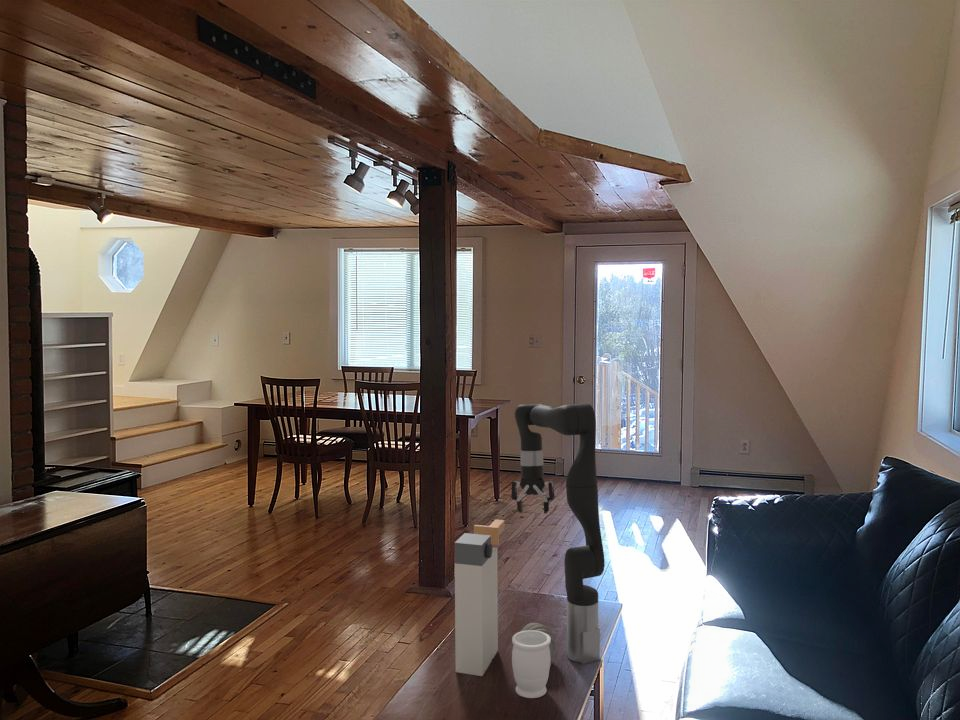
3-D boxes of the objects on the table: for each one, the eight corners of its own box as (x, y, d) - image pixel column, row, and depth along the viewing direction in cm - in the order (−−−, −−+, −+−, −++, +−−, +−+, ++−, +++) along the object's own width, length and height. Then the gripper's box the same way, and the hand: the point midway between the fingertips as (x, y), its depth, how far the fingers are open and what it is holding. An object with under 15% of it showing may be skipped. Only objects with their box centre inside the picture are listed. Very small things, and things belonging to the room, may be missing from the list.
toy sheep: (540, 647, 236) (540, 612, 235) (568, 672, 221) (568, 634, 220) (509, 653, 232) (509, 618, 231) (535, 679, 217) (535, 641, 216)
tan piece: (488, 527, 250) (488, 511, 249) (511, 529, 247) (511, 513, 247) (474, 543, 235) (473, 525, 234) (498, 545, 232) (498, 527, 232)
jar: (532, 677, 218) (532, 626, 217) (558, 692, 210) (558, 638, 209) (503, 690, 211) (503, 637, 210) (529, 705, 203) (530, 650, 202)
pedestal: (472, 647, 236) (471, 526, 233) (501, 651, 234) (501, 528, 230) (455, 672, 221) (454, 542, 218) (486, 676, 218) (485, 545, 215)
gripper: (508, 465, 257) (509, 514, 256) (550, 465, 252) (551, 515, 252) (514, 462, 264) (515, 510, 263) (555, 463, 260) (556, 511, 259)
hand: (533, 512), depth 258 cm, fingers open, 8 cm apart
